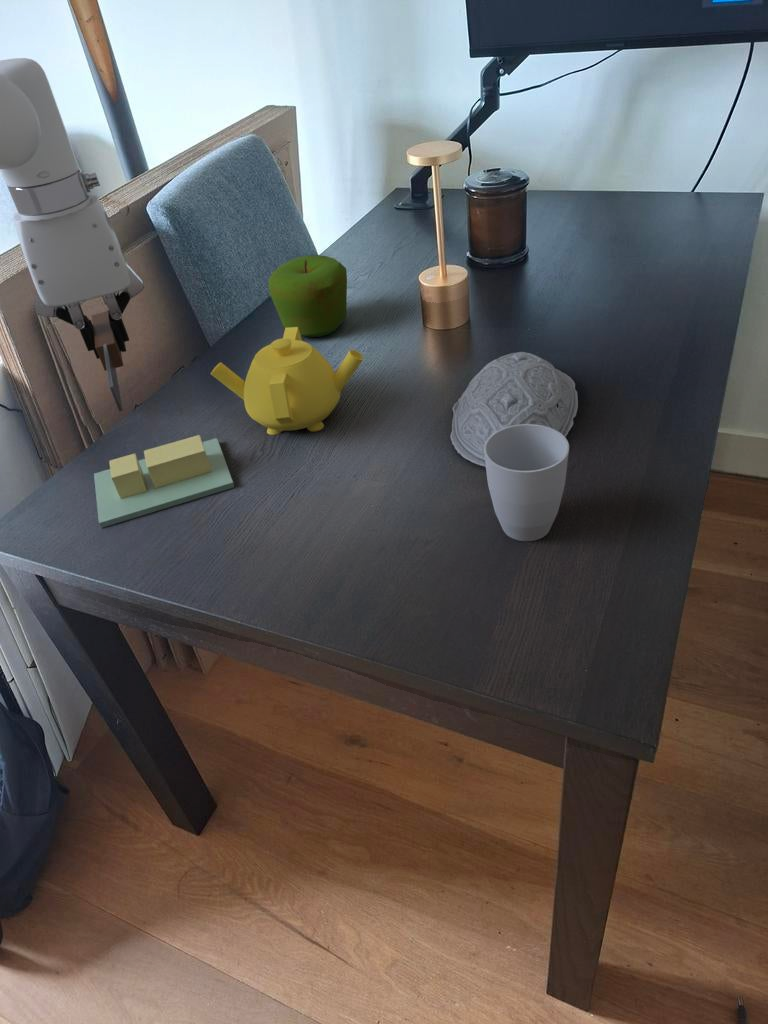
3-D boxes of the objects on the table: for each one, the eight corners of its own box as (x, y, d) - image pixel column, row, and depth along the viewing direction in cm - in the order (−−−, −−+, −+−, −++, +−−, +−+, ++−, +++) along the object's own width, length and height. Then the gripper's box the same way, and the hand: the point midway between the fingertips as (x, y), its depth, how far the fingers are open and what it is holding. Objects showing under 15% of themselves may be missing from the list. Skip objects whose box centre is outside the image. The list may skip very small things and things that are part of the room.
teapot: (373, 377, 108) (363, 303, 101) (368, 448, 94) (355, 369, 87) (236, 390, 110) (217, 318, 103) (212, 461, 96) (187, 384, 89)
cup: (577, 513, 80) (582, 434, 74) (546, 560, 75) (548, 480, 69) (507, 494, 84) (506, 417, 78) (473, 538, 79) (469, 459, 73)
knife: (99, 337, 96) (90, 313, 94) (117, 332, 96) (108, 309, 94) (111, 415, 80) (100, 389, 78) (132, 410, 80) (121, 383, 78)
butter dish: (101, 528, 88) (98, 523, 88) (95, 478, 96) (93, 473, 96) (234, 487, 91) (233, 482, 91) (218, 442, 100) (217, 437, 99)
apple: (282, 316, 128) (268, 250, 121) (354, 307, 127) (344, 240, 120) (276, 351, 118) (260, 281, 111) (354, 341, 118) (343, 270, 111)
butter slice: (120, 499, 91) (111, 477, 89) (117, 481, 94) (109, 460, 92) (147, 491, 91) (138, 469, 89) (143, 474, 94) (135, 452, 92)
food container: (586, 363, 103) (583, 318, 98) (564, 481, 86) (559, 433, 81) (474, 369, 108) (467, 326, 104) (433, 481, 91) (422, 436, 87)
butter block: (155, 488, 92) (146, 467, 90) (151, 471, 95) (143, 450, 93) (211, 471, 93) (205, 450, 91) (206, 455, 96) (199, 434, 94)
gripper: (123, 170, 85) (172, 322, 97) (-25, 202, 82) (44, 355, 94) (128, 186, 79) (180, 345, 91) (-30, 222, 76) (44, 382, 88)
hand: (110, 349), depth 92 cm, fingers closed on knife, 2 cm apart
